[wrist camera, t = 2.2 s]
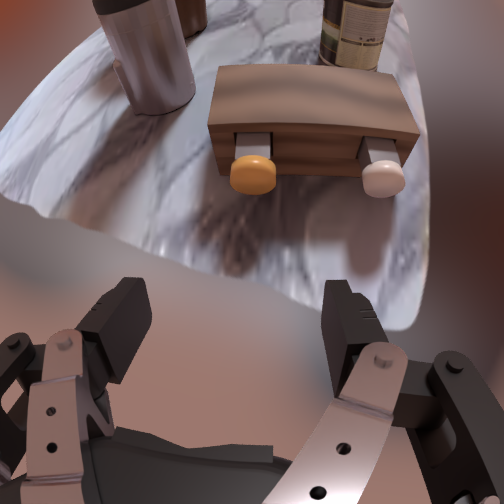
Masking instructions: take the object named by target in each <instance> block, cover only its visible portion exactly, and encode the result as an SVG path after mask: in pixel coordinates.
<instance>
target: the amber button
mask: <svg viewBox="0 0 504 504" xmlns="http://www.w3.org/2000/svg"><path fill="white" fill-rule="evenodd" d="M230 184H231V186H232V188H233V189H235V190H236V191H238V192H240V193H243V194H248V195H260V194H265V193H267V192H270V191H271V190H272V189H274V187H275V186H276V167H275V164H274V163H273V162H272V161H271V160H270V132H237V140H236V152H235V161H234V162H233V163H232V166H231V174H230Z"/></svg>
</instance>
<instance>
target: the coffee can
mask: <svg viewBox="0 0 504 504" xmlns="http://www.w3.org/2000/svg"><path fill="white" fill-rule="evenodd" d="M393 1H394V0H324V7H323V20H322V32H321V42H320V50H319V56H320V58H321V60H322V61H323V62H324V63H326V64H327V65H329V66H333V67H343V68H352V69H360V70H367V71H375V70H376V69H377V64H378V60H379V56H380V52H381V48H382V44H383V40H384V36H385V32H386V28H387V24H388V19H389V15H390V11H391V6H392V4H393Z"/></svg>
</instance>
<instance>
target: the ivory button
mask: <svg viewBox="0 0 504 504" xmlns="http://www.w3.org/2000/svg"><path fill="white" fill-rule="evenodd" d="M357 153H358V158H359V162H360V167H361V172H362V180H363V185H364V190H365V192H366V194H368V195H369V196H372V197H376V198H386V197H390V196H394V195H396V194H398V193H399V192H401V191H402V190H403V189H404V187H405V179H404V176H403V172H402V169H401V163H400V160H399V157H398V153H397V150H396V147H395V144H394V141H393V139H390V138H382V137H372V136H363V137H362V140H361V143H360V146H359V149H358V152H357Z"/></svg>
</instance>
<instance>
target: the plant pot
mask: <svg viewBox="0 0 504 504" xmlns="http://www.w3.org/2000/svg"><path fill="white" fill-rule="evenodd" d="M175 4H176V8H177V12H178V16H179V20H180V24H181V28H182V33H183V37H184V38H187V37H190V36H192V35H194V34H195V33H196V32H197V31H202V30H203V29H204V28H205V27H206V26H207V13H206V1H205V0H175Z"/></svg>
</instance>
